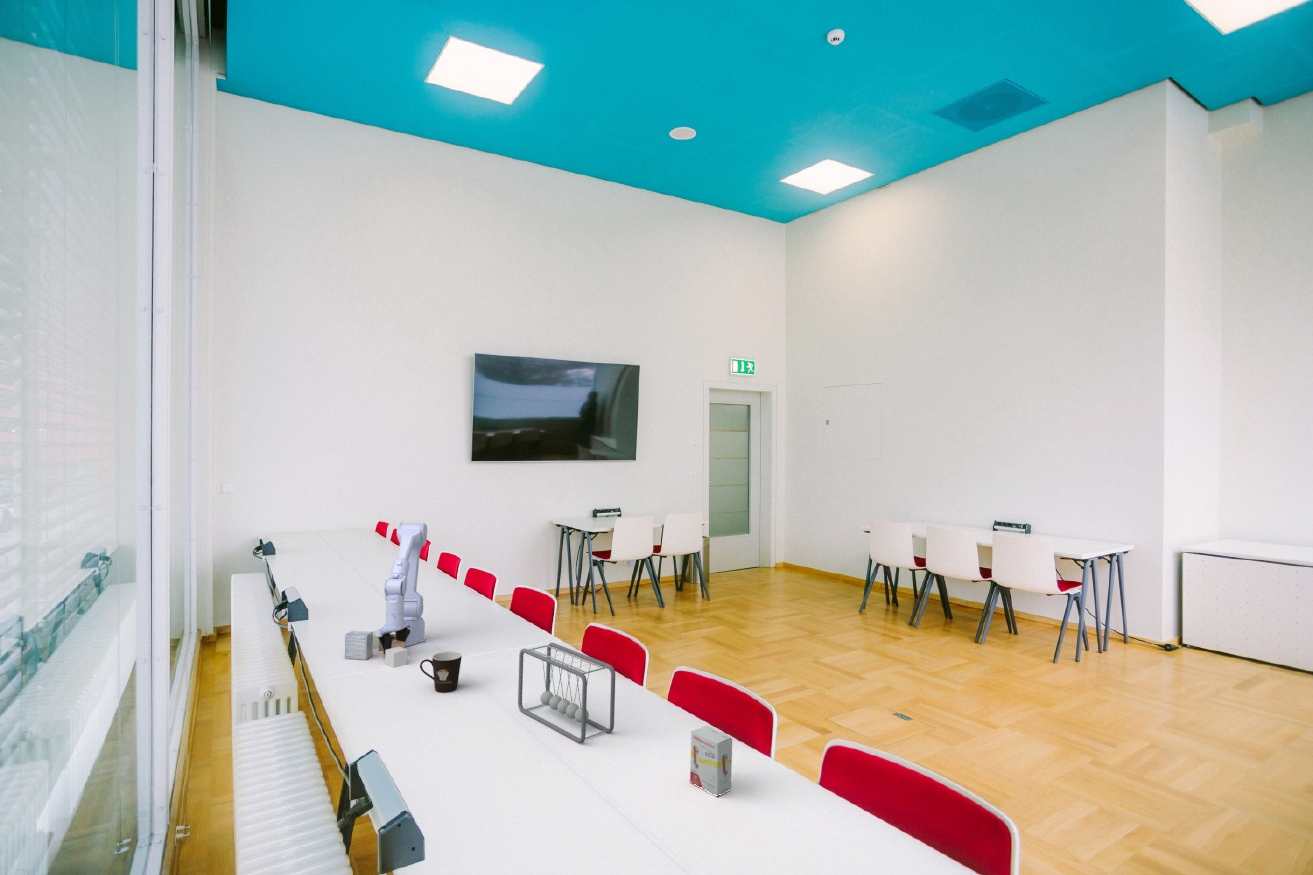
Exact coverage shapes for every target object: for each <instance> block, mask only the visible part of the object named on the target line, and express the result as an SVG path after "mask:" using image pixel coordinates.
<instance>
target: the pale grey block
mask: <svg viewBox="0 0 1313 875" xmlns="http://www.w3.org/2000/svg"><path fill="white" fill-rule="evenodd" d="M408 651H409V650H408V649H407V648H406V647H405V648H402V647H395V648H391V649H387V650H386V655H385V658H384V659H385V661H384V662H385V663H384V664H385V666H388V667H389V668H391V669H392V668H393V669H396V668H400V667H403V666H407V665H408V654H409V652H408Z"/></svg>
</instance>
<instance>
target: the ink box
mask: <svg viewBox="0 0 1313 875" xmlns="http://www.w3.org/2000/svg"><path fill="white" fill-rule="evenodd" d="M690 734H691V735H690V736H691V737H690V770H689V771H690V774H689V777H690V778H689V782H690V781H691V782H692V783H694V784H696V785H697V786H699V787H702V788H703V789H706V790H707V791H709V792H710V793H712V794H715V795H719V794H723V793H725V792H726V791H728V790H730V789H731V790H732V768H733V764H732V762H733V760H732V759H733V738H732V737H731V736H730V735H728V734H726V733H724V732H722V731H720V730H718V729H716V728H714V727H711V726H709V725H704V726H701V727H699V728H696V729H694V730H692V731H690ZM697 786H696V787H697ZM699 787H698V788H699ZM710 793H709V794H710ZM712 794H711V795H712ZM725 794H726V793H725ZM723 795H724V794H723Z"/></svg>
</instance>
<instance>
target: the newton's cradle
mask: <svg viewBox="0 0 1313 875" xmlns="http://www.w3.org/2000/svg"><path fill="white" fill-rule="evenodd" d="M544 648H547V649H546V652H545V653H544V652H542V653H541V652H540V651H538V650H537V649H544ZM553 650H554V652H555V654H554V655H553V656H551V655H552V653H551V652H553ZM557 652H560V653H561V654H559V656H561V655H562V654H563V658H562V659H561V660H560V659H557V658H556V657H557V656H558V654H557ZM524 654H526V655H529V656H530V657H533V658H536V659H538V660H540V661H542V662H545V663H546V669H545V666H544V663H542V667H543V670H545V672H543V676H544V678H543V679H545V680H544V686H545V691H544V692H542V693H541V694H540V699H539V700H540V702H541V704H539V705H535V706H531V707H529V708H528V707H527V708H525V707H524V705H523V685H524V684H523V680H524V673H523V672H524ZM565 655H568V656H570V657H569V659H570V658H571V659H572V660H571V662H569V663H566V662H564V661H565V660H566V659H568V657H567V658H565ZM574 658H575V659H578V660H577V661H573V660H574ZM578 662H580V665H579V667H578V666H573V664H574V663H578ZM582 662H584V663H587V664H584V665H582ZM591 665H592V666H596V667H597V669H593V670H591V667H589V668H588V671H585V670H583V669H581V667H584V666H591ZM554 667H557V668H558V670H559V673H560V674H559V682H558V685H560V684H561V688H563V684H562V681H561V680H562V672H563V671H566V672H567V678H568V682H567V685H568V686H567V688H566V691H568V689H569V688H571V686H570V685H571V683H570V678H571V674H572V675H575V676H576V678H577V679H576V683H577V684H576V688H575V695H574V699H573V698H572V696H570V700H571V701H570V700H568V699H567V695H568V692H566V694H565V697H561V696H560V695H558V694H559V692H557V693H556V690H555V687H553V690H554V692H552V691H550V690H551V689H550V688H551V687H550V686H551V682H552V683H553V686H555V683H554V680H552V679H554V675H553V671H554ZM605 669H608V670H609V672H610V700H609V701H610V704H609V705H610V706H609V708H610V709H609V710H610V711H609V727H606V726H604V725H602V724H600V723H598V722H596V721H594V720H592V719H590V718H589V717H590V714H589V710H588V709H587V704H588V703H587V702H588V701H587V698H588V697H587V696H588V695H587V694H588V683H589V682H588V681H589V679H588V678H589V676H590V673H593V672H594V673H595V672H597V671H601V670H605ZM545 673H546V675H545ZM586 674H587V677H586ZM579 679H581V681H582V682H581V683H582V688H581V690H582V692H581V697H580V694H578V698H579V700H578V701H581V702H579V705H578V704H577V703H576V696H577V691H578V693H580V689H579ZM517 689H518V690H517V693H518V694H517V705H518V709H519V711H520V712H521V713H522V714H524V715H526V716H528V717H529V718H531V719H534V720H535V721H537V722H538V723H540V724H543V725H544V726H546V727H548V728H549V729H551V730H553V731H555V732H557V733H559V734H561V735H563V736H565V737H566V738H568V739H570V740H571V741H574V742H575V743H577V744H583V743H584V742H585V740H587V739H590V738H593V737H596V736H599V735H601V734H604V733H606V734H611V733H612V732H613V731H614V729H615V728H614V727H615V706H616V705H615V704H616V703H615V701H616V698H615V697H616V670H615V669H614V667H613V665H611V664H609V663H607V662H605V661H601V660H599V659H596V658H594V657H591V656H588V655H585V654H583V653H581V652H579V651H575V650H573V649H571V648H569V647H565V646H562V645H560V644H557V643H555V642H549V643H548V644H546V645H541V646H537V647H532V648H521V650H520V651H519V658H518V688H517ZM559 690H560V686H558V687H557V691H559ZM569 691H570V692H569V693H570V695H572V692H571V691H572V690H571V689H569ZM561 694H562V695H564V691H563V689H561ZM573 700H574V701H573ZM543 706H549V708H550V709H552V710H554V711H558V712H559V714H561V715H566V716H567V717H568V718H569V719H571V720H572V719H575V721H576V722H577V723H580V725H581V727H580V728H581V729H580V737H578V736H577V735H574V734H573V733H570V732H569V731H567V730H565V729H563V728H561V727H559V726H558V725H556V724H554V723H551V722H550V721H548V720H546V719H544V718H543V717H540V716H539V715H537V714H535V713H533V712H531V711H530V710H534V709H536V708H540V707H543ZM587 724H588V725H590V726H592V727H594V728H596V729H599V730H600V732H597V733H594V734H591V735H588V736H586V735H587V734H586V732H587V729H586V728H587Z"/></svg>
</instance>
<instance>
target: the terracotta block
mask: <svg viewBox="0 0 1313 875" xmlns="http://www.w3.org/2000/svg"><path fill="white" fill-rule="evenodd" d="M395 647H402V648H405V649H406V647H405V642H403V641H399V640H393V641H392V645H391V648H395ZM382 659H385V655H384V651H382Z"/></svg>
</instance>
